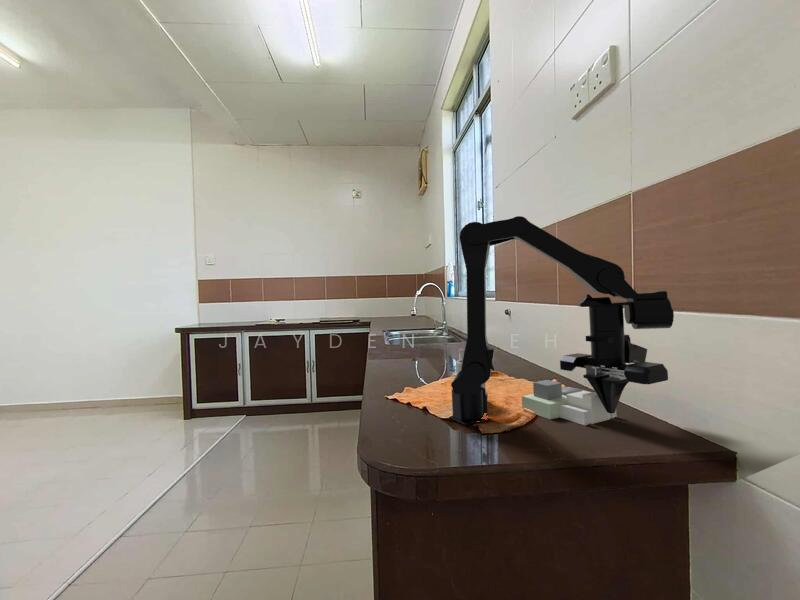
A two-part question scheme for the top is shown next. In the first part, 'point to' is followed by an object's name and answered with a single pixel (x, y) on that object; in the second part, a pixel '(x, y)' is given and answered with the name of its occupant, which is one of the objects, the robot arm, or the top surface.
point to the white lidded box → (589, 405)
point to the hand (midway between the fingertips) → (611, 412)
